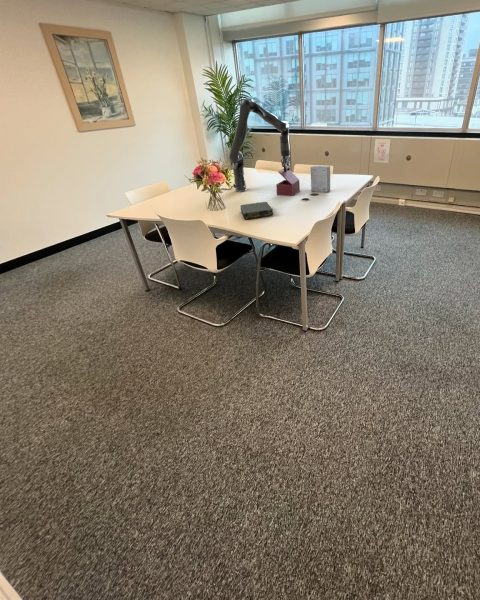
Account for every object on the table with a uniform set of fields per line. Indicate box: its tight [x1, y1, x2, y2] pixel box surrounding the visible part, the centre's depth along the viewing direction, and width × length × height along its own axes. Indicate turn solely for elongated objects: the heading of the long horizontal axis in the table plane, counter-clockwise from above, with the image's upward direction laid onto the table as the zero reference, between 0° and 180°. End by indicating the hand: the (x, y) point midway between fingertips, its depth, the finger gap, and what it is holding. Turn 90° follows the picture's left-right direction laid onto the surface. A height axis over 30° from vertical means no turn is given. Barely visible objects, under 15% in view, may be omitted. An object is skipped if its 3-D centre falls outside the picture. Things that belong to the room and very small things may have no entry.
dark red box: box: [275, 179, 301, 197], centre depth 273 cm, size 15×16×9 cm
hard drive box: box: [310, 165, 331, 193], centre depth 270 cm, size 16×8×20 cm, turn 65°
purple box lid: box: [277, 166, 300, 185], centre depth 265 cm, size 15×16×6 cm
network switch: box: [240, 201, 274, 221], centre depth 233 cm, size 23×24×5 cm
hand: (287, 171), depth 265 cm, fingers closed on purple box lid, 5 cm apart
